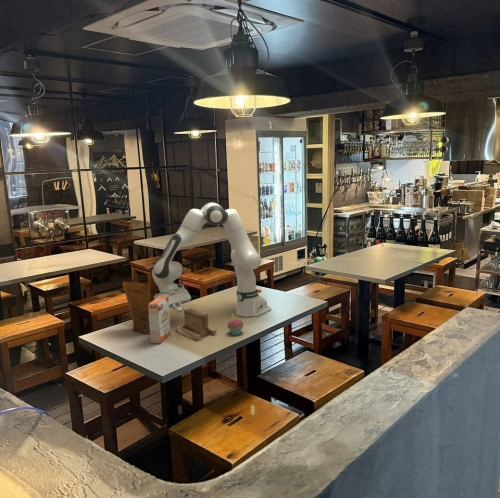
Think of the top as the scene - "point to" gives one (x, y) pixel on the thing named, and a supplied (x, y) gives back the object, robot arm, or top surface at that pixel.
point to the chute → (191, 334)
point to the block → (196, 322)
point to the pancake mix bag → (138, 305)
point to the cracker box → (159, 319)
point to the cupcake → (235, 326)
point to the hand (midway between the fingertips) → (179, 311)
